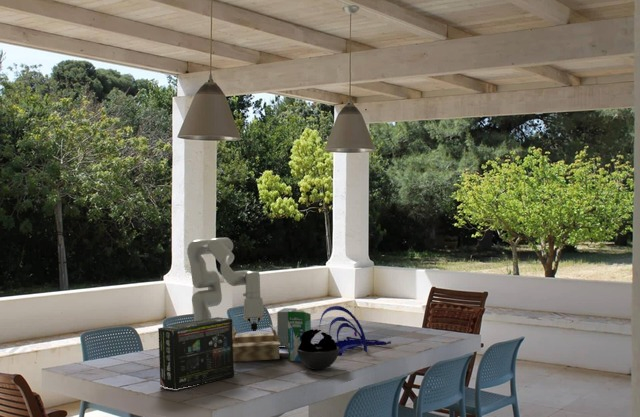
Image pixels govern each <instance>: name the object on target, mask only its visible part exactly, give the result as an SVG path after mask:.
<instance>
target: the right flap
mask: <svg viewBox="0 0 640 417" xmlns="http://www.w3.org/2000/svg"><path fill="white" fill-rule="evenodd" d="M269 326H270V329H271V331H272V333H273V334H274V336H275V337H276V338H277V340H279V339H278V336H277V331H276V329H275V328H274V327H273V325H272V324H269Z"/></svg>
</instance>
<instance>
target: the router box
mask: <svg viewBox="0 0 640 417" xmlns="http://www.w3.org/2000/svg"><path fill="white" fill-rule="evenodd" d="M232 328H233V319H232V318H227V317H219V316H217V317H212V318H211V319H205V320H200V321H194V320H193V321H189V322H184V323H178V324H173V325H168V326H162V327H158V329H157V331H158V354H159V357H158V359H159V379H160V380H159V382H160V383H159V384H160V385H162V386H164V387H168V388H173V389H178V388H183V387H188V386H193V385H197V384H202V383H205V382H210V381H213V382H215V381H214V380H217V381H220V380H219V379H221V380H224V378H225V379H228V378H231V377H234V376H235V365H234V363H235V362H233V337H232ZM210 383H211V382H210ZM202 385H203V384H202Z"/></svg>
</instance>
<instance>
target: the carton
mask: <svg viewBox="0 0 640 417" xmlns="http://www.w3.org/2000/svg"><path fill="white" fill-rule="evenodd" d="M279 345H281V344H280V342H279V340H277V338H276V337H275V336H274V334H273V332H266V333H264V332H263V333H244V334H243V333H242V334H236V335H235V338H234V341H233V362H234V363H235V362H249V361H250V362H252V361H267V360H268V361H269V360H280V348H279Z"/></svg>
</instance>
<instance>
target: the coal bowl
mask: <svg viewBox="0 0 640 417" xmlns="http://www.w3.org/2000/svg"><path fill="white" fill-rule="evenodd" d="M319 333H320V335H321V336H322V337H323V338H322V337H321V339H319V342H316V343H312V340H313V339H314V337H315V336H316V335H317V334H319ZM335 342H336V341H335V340H334V339H333V337H332V335H331V334H329V333H326V332H324V331H322V329H316V328H315V329H313V328H311V330H308V331H305V332H304V333H303V335H302V336H301V344H300V345H299V347H298V348H297V352H298V356H299V358H300V360H301V361H300V362H301V363H302V364H304V365H305V367H308V368H309V369H311V370H317V371H319V370H320V371H321V370H324V369H327V368H330V367H331V366H332V365H333V364H334V363H335V361H336V360H337V358H338V356H339V355H338V353H339V347H337V346H336V344H335Z"/></svg>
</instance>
